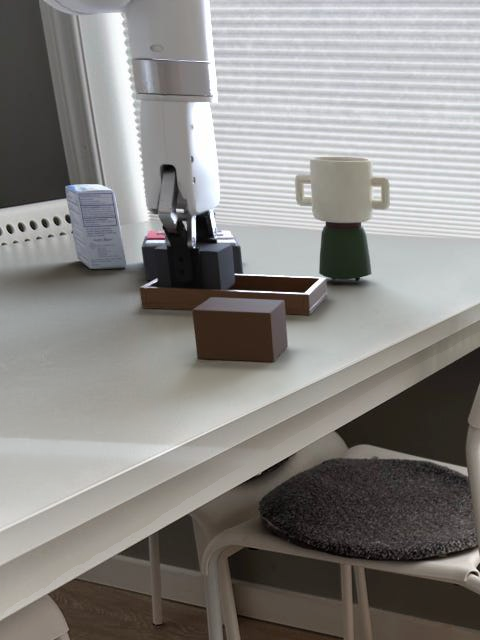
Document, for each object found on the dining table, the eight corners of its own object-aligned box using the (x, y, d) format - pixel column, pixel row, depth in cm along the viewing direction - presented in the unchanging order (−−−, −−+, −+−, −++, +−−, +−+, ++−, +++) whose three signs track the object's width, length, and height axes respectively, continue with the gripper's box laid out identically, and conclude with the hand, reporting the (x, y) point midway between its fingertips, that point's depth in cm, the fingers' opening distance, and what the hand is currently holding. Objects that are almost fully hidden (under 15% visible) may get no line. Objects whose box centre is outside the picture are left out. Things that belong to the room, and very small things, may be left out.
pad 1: (158, 290, 97) (153, 248, 95) (175, 280, 102) (171, 241, 100) (221, 293, 97) (217, 251, 95) (235, 283, 102) (232, 244, 100)
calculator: (233, 228, 122) (240, 238, 109) (236, 264, 124) (243, 278, 111) (143, 228, 119) (139, 239, 106) (148, 265, 121) (145, 280, 108)
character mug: (395, 277, 116) (394, 158, 109) (385, 288, 110) (383, 162, 103) (307, 273, 116) (301, 154, 110) (293, 283, 110) (285, 158, 104)
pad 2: (197, 359, 80) (191, 309, 78) (215, 343, 85) (210, 296, 83) (273, 362, 80) (270, 313, 78) (287, 346, 84) (284, 299, 82)
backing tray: (141, 308, 96) (139, 287, 95) (172, 290, 105) (169, 271, 104) (310, 315, 96) (308, 294, 95) (327, 296, 104) (326, 277, 103)
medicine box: (127, 268, 115) (115, 190, 111) (89, 270, 113) (75, 190, 109) (113, 258, 121) (102, 183, 117) (76, 260, 119) (63, 184, 115)
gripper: (165, 82, 98) (186, 268, 107) (102, 81, 83) (132, 297, 92) (238, 86, 98) (252, 271, 107) (187, 85, 83) (208, 301, 92)
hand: (196, 281), depth 99 cm, fingers closed on pad 1, 5 cm apart
